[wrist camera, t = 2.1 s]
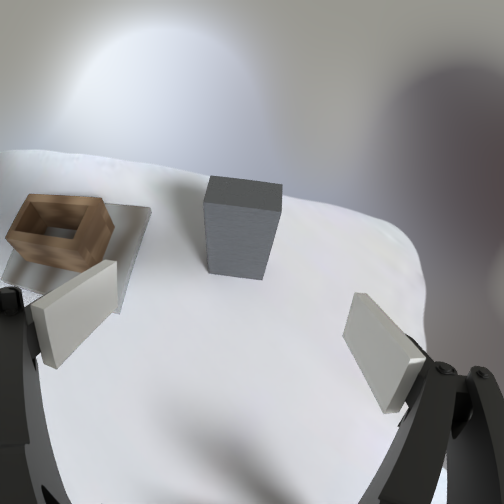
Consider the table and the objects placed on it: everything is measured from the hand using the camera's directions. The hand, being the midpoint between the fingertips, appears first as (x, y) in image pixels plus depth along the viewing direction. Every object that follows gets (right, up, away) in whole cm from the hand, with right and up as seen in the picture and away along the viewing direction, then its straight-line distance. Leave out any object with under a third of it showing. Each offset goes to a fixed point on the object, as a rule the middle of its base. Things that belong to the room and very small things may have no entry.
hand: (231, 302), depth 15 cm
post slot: (-23, +3, +17) cm, 28 cm away
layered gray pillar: (-1, +1, +18) cm, 18 cm away
